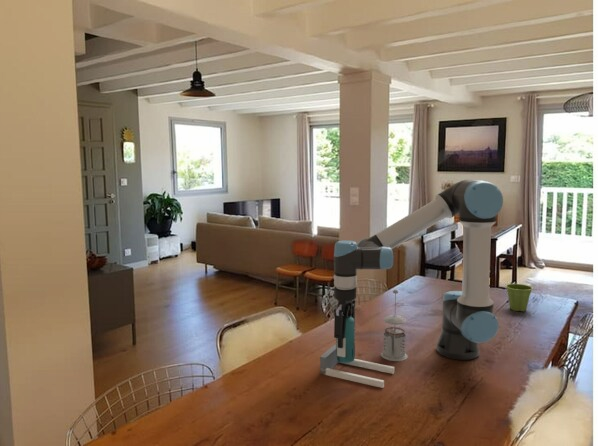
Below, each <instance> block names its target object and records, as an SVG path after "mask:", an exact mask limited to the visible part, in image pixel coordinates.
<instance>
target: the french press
mask: <svg viewBox="0 0 598 446" xmlns="http://www.w3.org/2000/svg"><path fill="white" fill-rule="evenodd" d="M392 293H393V294H395V295H394V313H396V307H397V306H396V305H397V304H396V303H397V302H396V301H397V294H399V291H398V289H393V290H392ZM383 321H384V323H387V324H389V325H394V326H389V327H386V328H385V329H384V333H383V337H384V338H383V350H382V352H381V353H380V356H381V357H382V358H383V359H385V360H387V361H390V362H402V361H405V360H407V359H408V354H407V353H406V337H407V336H406V333H405V329H403V328H401V327H396V325H397V326H398V325H402V324H405V323H406V322H407V319H406V318H405V317H403V316H401V315H398V314H390V315H387V316H385V317H384V318H383Z"/></svg>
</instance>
